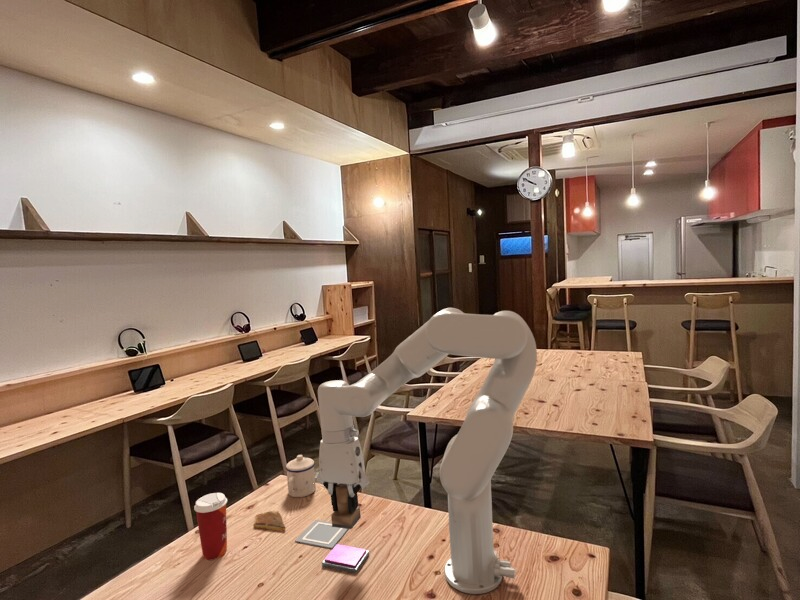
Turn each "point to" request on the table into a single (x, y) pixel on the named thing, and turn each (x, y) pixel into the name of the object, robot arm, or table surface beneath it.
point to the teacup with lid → (301, 477)
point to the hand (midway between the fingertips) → (345, 508)
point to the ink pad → (345, 558)
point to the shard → (269, 521)
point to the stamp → (344, 510)
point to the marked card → (321, 534)
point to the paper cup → (212, 524)
